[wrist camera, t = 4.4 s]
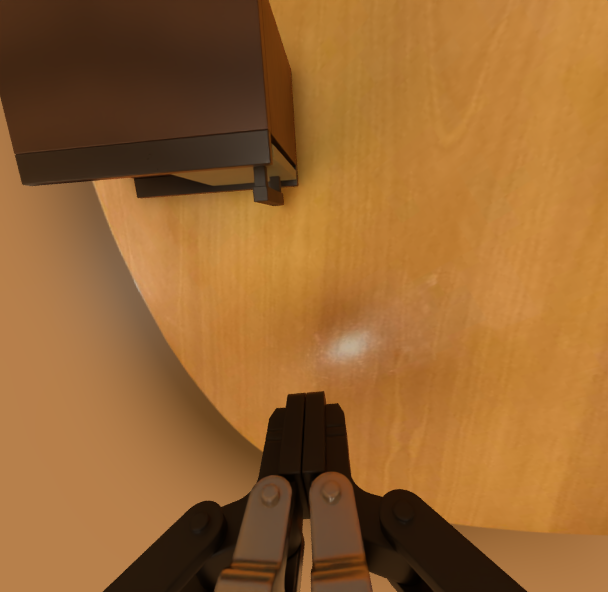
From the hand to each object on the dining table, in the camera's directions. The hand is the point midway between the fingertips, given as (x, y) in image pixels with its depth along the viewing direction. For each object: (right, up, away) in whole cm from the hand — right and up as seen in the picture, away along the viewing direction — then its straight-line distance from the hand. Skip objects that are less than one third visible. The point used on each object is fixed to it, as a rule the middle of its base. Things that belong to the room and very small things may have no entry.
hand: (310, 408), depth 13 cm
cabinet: (-9, +20, +17) cm, 28 cm away
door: (-5, +14, +17) cm, 23 cm away
